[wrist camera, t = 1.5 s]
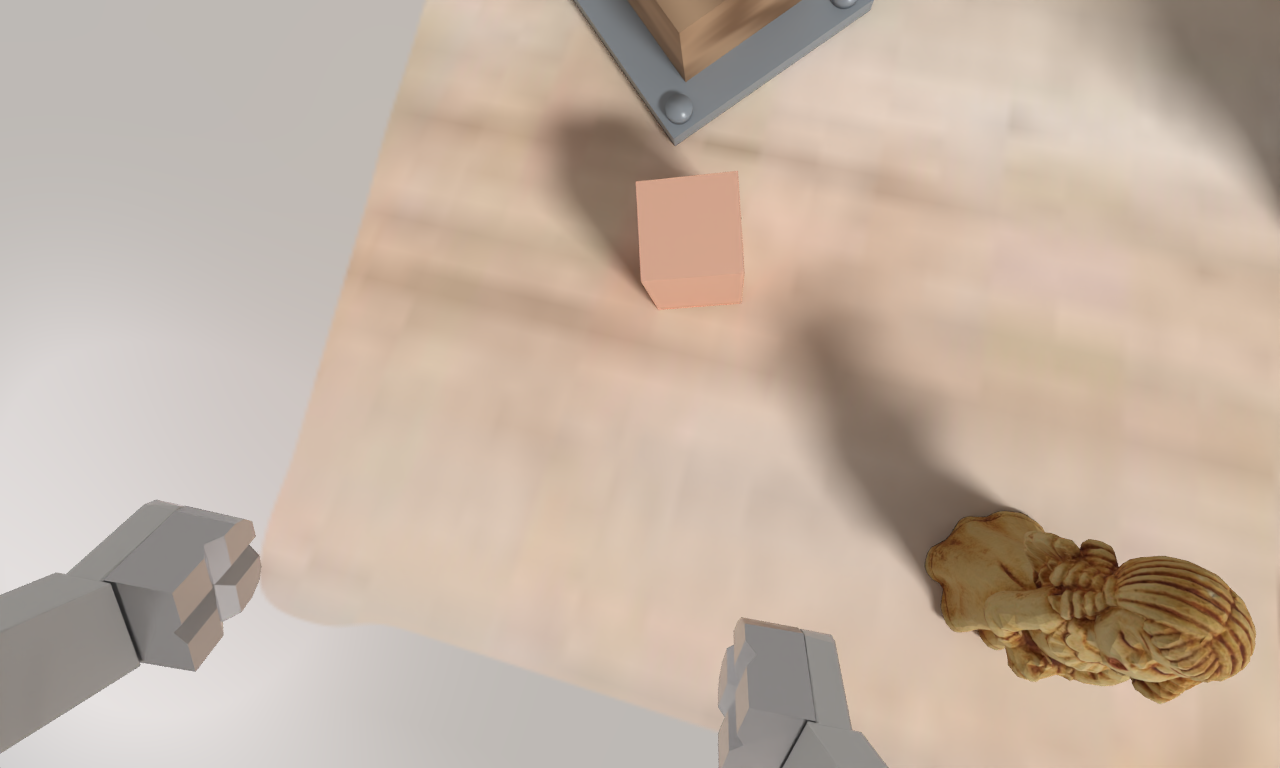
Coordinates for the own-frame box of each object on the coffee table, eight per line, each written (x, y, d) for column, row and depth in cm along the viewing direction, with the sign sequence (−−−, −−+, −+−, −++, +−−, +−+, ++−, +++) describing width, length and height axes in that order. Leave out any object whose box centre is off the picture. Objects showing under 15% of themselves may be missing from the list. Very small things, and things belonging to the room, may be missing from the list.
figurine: (894, 592, 37) (1006, 705, 22) (968, 476, 37) (1129, 512, 22) (1023, 674, 36) (1232, 851, 21) (1100, 555, 36) (1364, 649, 21)
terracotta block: (653, 229, 40) (635, 181, 32) (736, 221, 40) (737, 170, 32) (658, 309, 40) (641, 281, 32) (741, 303, 39) (744, 272, 31)
